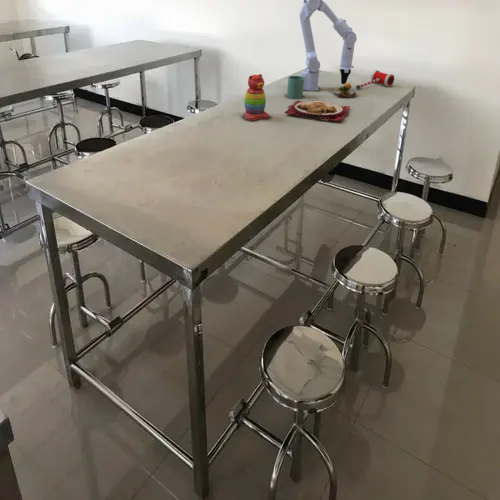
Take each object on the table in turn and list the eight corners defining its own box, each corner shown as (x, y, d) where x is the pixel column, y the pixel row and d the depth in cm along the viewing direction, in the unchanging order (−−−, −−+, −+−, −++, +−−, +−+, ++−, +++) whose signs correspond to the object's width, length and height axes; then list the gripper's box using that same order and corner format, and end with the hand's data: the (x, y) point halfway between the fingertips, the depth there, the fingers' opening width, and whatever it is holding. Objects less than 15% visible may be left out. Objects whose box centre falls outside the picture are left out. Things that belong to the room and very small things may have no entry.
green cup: (286, 98, 239) (288, 79, 234) (287, 93, 246) (288, 75, 241) (302, 99, 239) (304, 80, 234) (302, 94, 245) (304, 76, 240)
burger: (340, 90, 254) (341, 75, 250) (360, 94, 248) (362, 79, 244) (327, 94, 247) (329, 79, 242) (348, 99, 240) (350, 84, 236)
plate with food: (341, 124, 210) (342, 116, 208) (284, 114, 216) (285, 107, 214) (349, 109, 229) (351, 102, 227) (297, 101, 235) (298, 94, 233)
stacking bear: (249, 121, 208) (250, 79, 199) (238, 114, 216) (239, 73, 206) (271, 118, 213) (273, 76, 203) (260, 111, 220) (261, 71, 210)
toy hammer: (365, 92, 253) (367, 79, 249) (348, 86, 261) (350, 74, 257) (393, 85, 265) (395, 73, 261) (376, 81, 273) (378, 69, 269)
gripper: (356, 60, 240) (352, 88, 248) (353, 53, 252) (350, 80, 260) (342, 59, 241) (338, 87, 248) (340, 53, 253) (336, 79, 260)
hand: (343, 83), depth 254 cm, fingers closed
